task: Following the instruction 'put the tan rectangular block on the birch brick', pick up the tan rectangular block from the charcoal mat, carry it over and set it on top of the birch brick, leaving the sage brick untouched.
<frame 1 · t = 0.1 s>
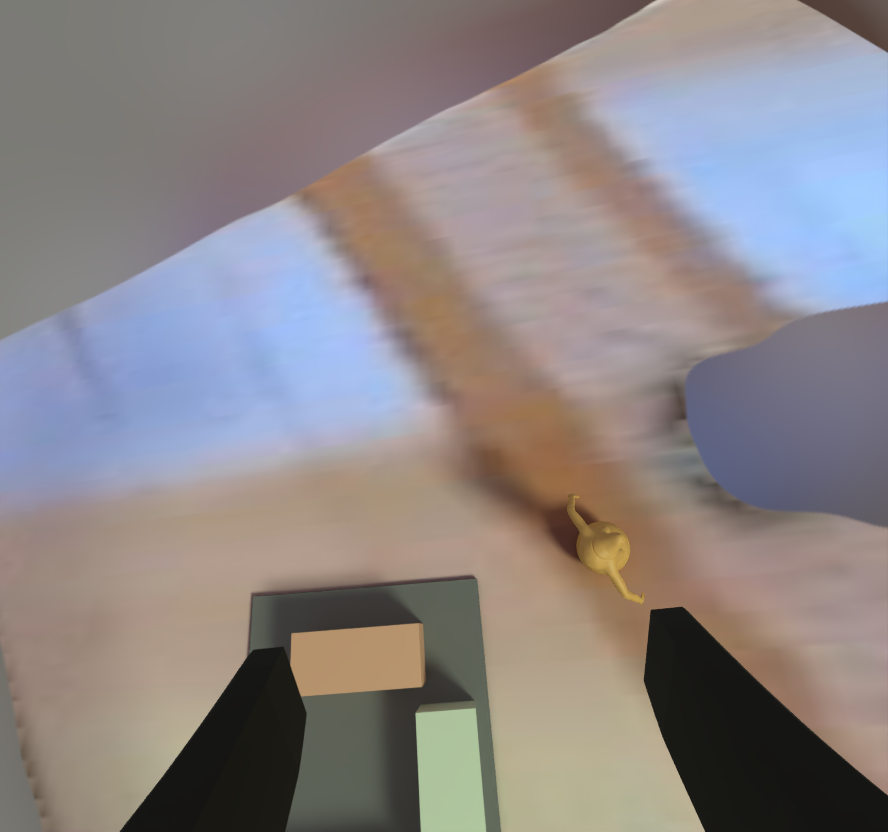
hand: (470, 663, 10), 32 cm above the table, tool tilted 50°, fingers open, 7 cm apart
figurine: (585, 557, 42), on the table
sage brick: (452, 775, 36), resting on mat
tan rectangular block: (365, 656, 39), resting on mat
mat: (368, 780, 36), on the table
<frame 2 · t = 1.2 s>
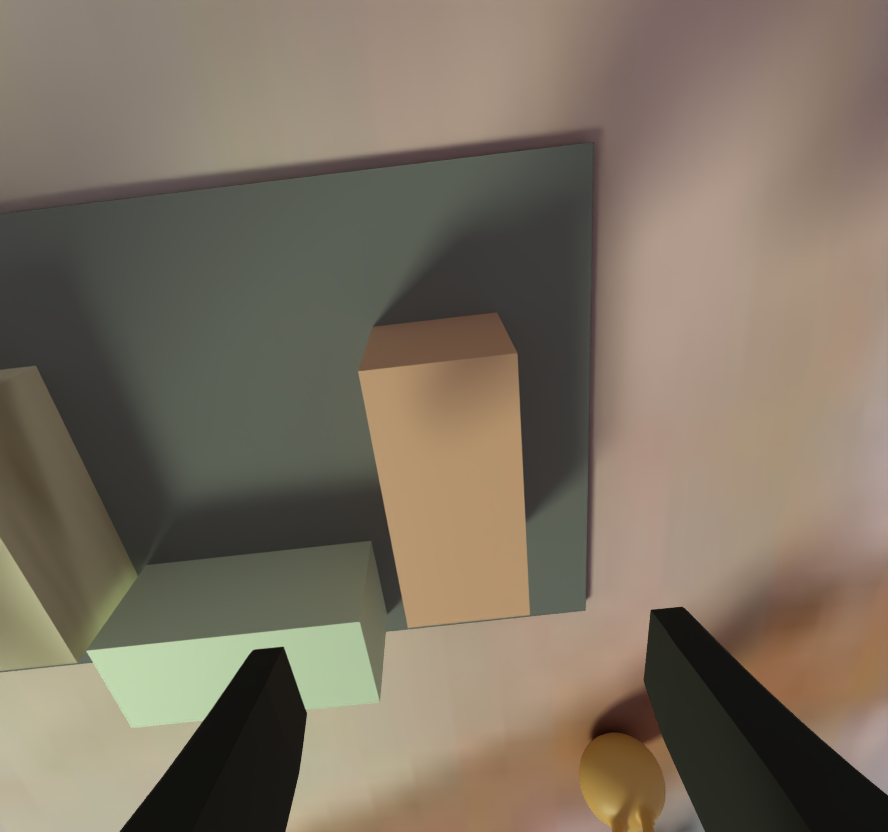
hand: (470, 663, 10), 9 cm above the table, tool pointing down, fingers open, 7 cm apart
figurine: (599, 725, 27), on the table
sage brick: (271, 590, 21), resting on mat
tan rectangular block: (449, 442, 18), resting on mat
mat: (232, 461, 19), on the table
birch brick: (38, 488, 19), resting on mat
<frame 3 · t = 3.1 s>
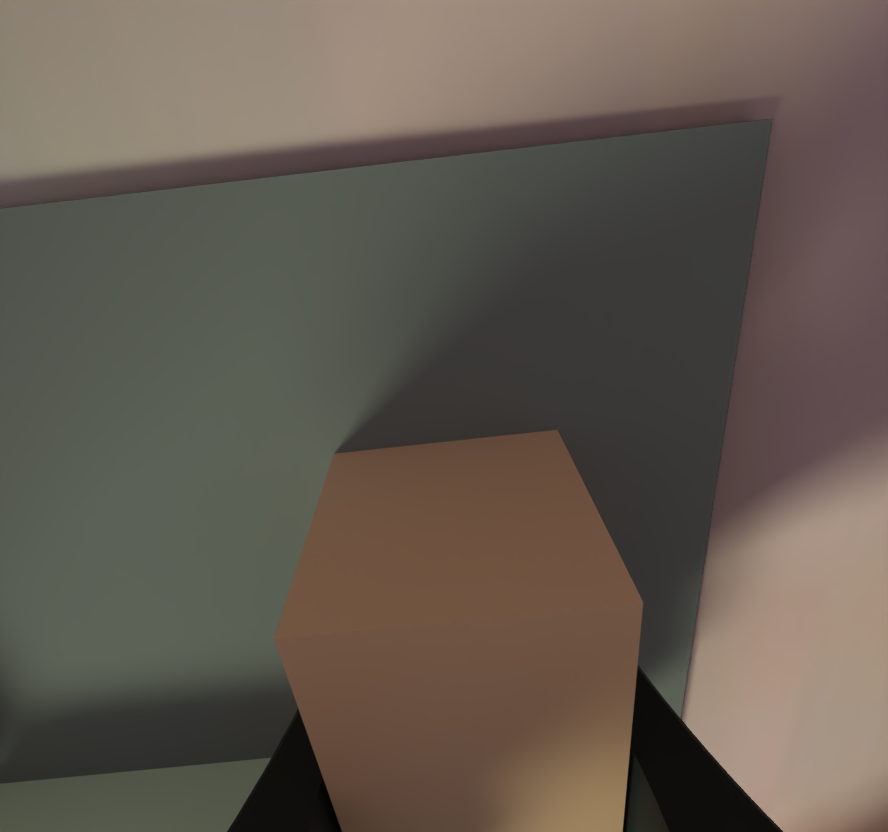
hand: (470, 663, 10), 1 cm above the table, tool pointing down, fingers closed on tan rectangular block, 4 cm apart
sage brick: (190, 811, 14), resting on mat
tan rectangular block: (466, 623, 11), resting on mat, touching gripper
mat: (113, 644, 12), on the table
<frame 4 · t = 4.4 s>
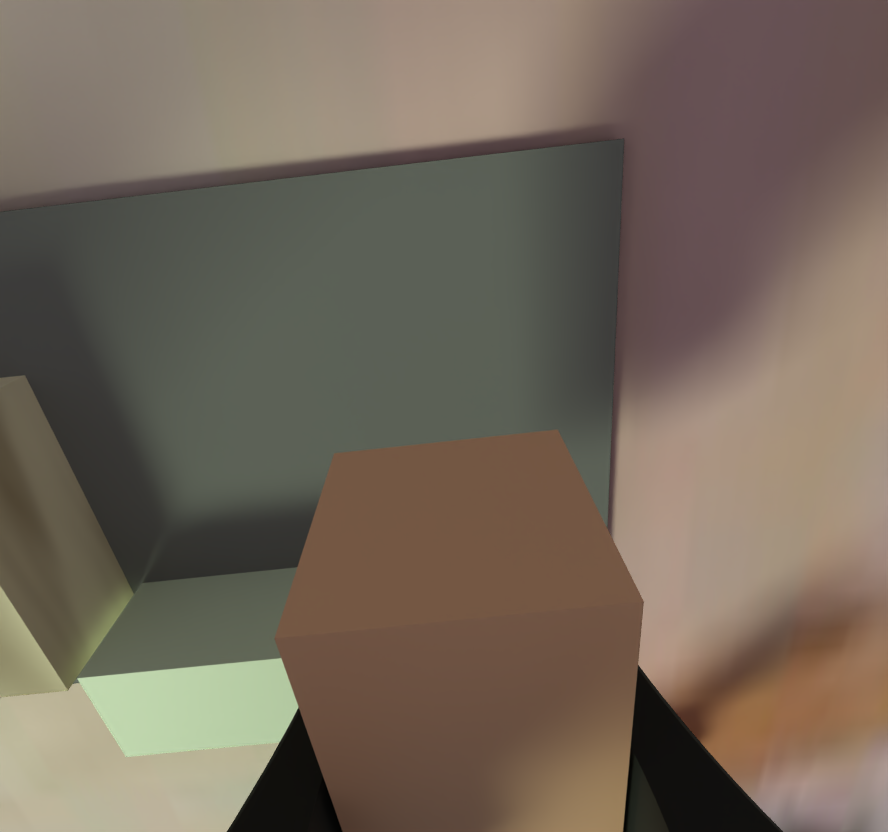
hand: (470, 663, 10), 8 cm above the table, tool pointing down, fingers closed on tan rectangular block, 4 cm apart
sage brick: (273, 609, 20), resting on mat
tan rectangular block: (466, 622, 11), point 7 cm above the table, touching gripper
mat: (233, 475, 18), on the table
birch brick: (28, 503, 18), resting on mat
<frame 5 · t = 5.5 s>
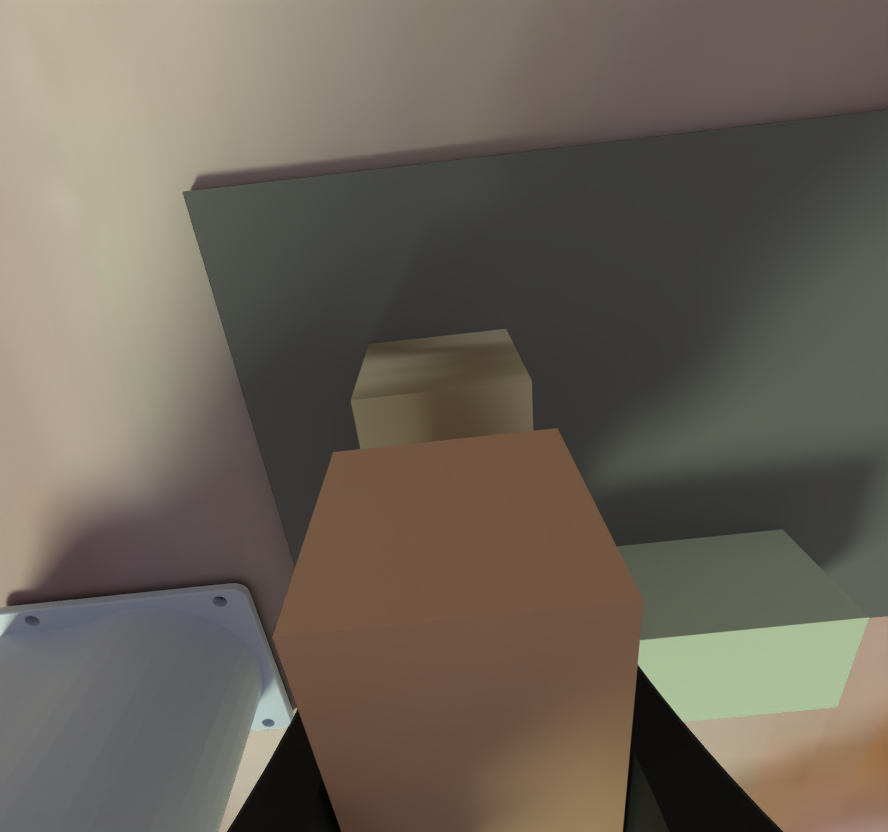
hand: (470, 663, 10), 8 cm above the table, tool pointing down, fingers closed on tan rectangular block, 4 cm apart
sage brick: (652, 583, 19), resting on mat
tan rectangular block: (466, 622, 11), point 7 cm above the table, touching gripper
mat: (661, 439, 17), on the table
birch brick: (452, 468, 17), resting on mat
when the fingers open (6 cm above the table, at t = 6.1 s): tan rectangular block moves 1 cm, resting on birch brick.
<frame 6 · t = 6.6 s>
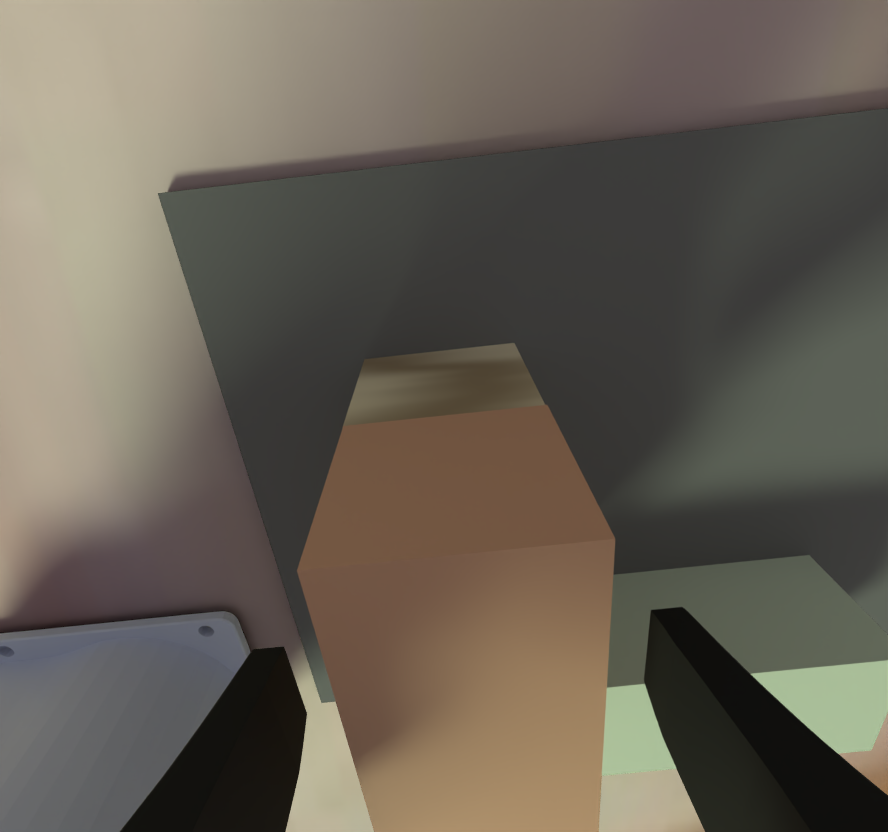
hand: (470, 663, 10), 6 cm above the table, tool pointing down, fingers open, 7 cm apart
sage brick: (668, 611, 18), resting on mat
tan rectangular block: (464, 587, 12), point 4 cm above the table, touching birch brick
mat: (680, 460, 16), on the table
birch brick: (455, 491, 16), resting on mat, touching tan rectangular block
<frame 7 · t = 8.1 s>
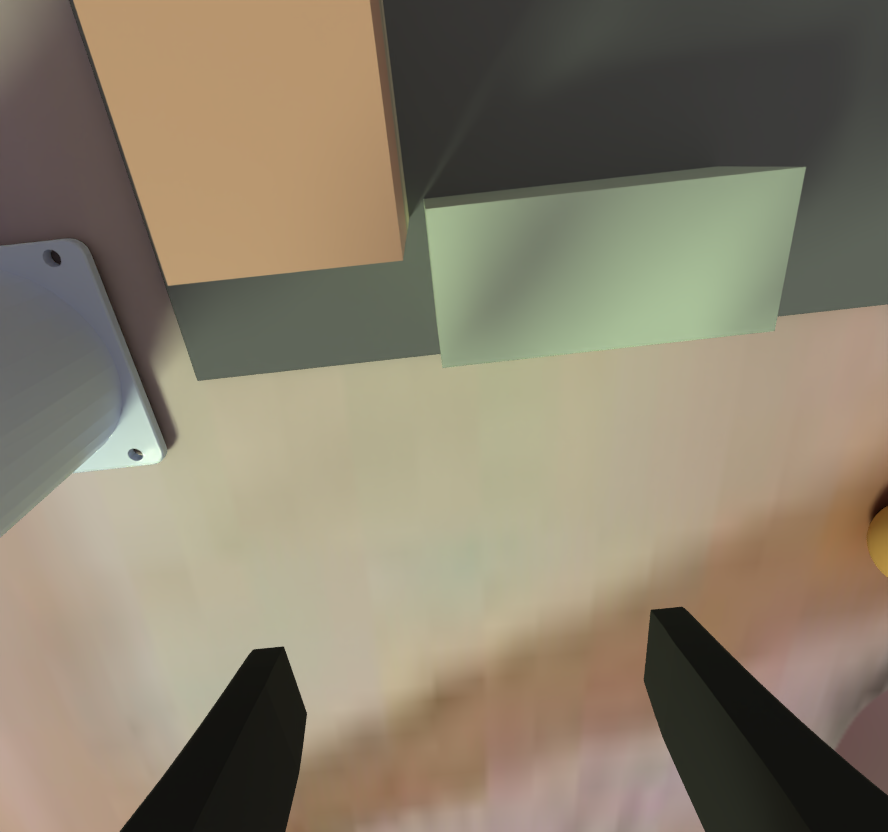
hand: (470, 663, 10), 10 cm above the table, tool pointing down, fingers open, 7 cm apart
figurine: (882, 497, 22), on the table
sage brick: (569, 250, 17), resting on mat
tan rectangular block: (279, 7, 10), point 4 cm above the table, touching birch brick
mat: (567, 24, 14), on the table
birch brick: (314, 49, 14), resting on mat, touching tan rectangular block
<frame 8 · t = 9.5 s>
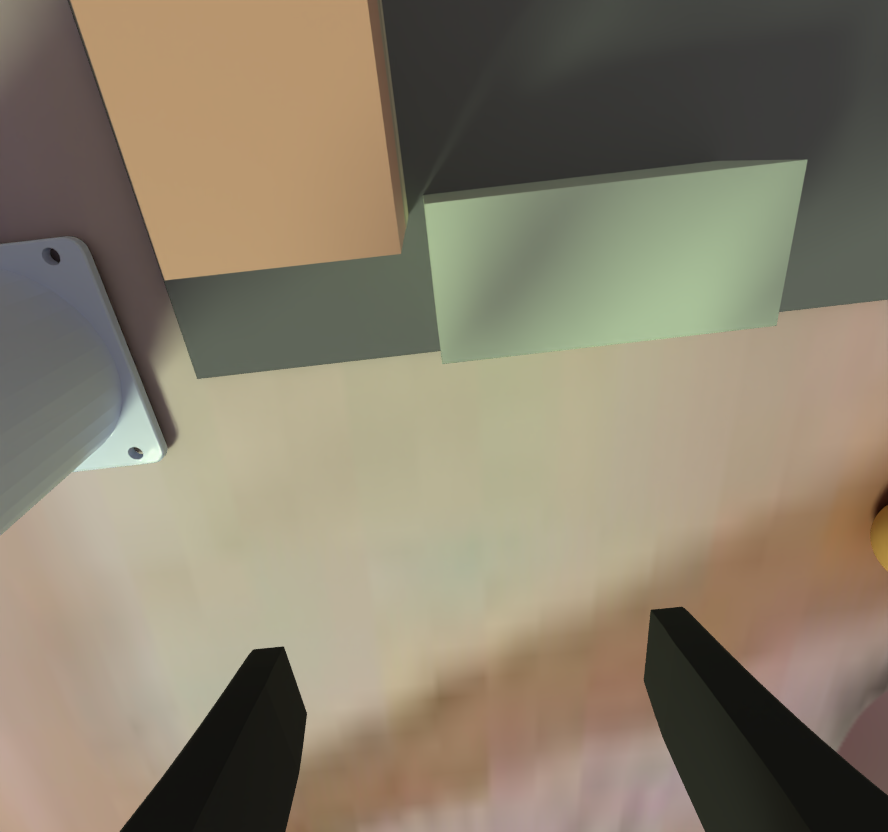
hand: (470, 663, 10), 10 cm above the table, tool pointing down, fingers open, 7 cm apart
figurine: (885, 494, 22), on the table
sage brick: (569, 246, 16), resting on mat
tan rectangular block: (276, 1, 10), point 4 cm above the table, touching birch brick
mat: (566, 18, 14), on the table
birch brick: (312, 45, 14), resting on mat, touching tan rectangular block
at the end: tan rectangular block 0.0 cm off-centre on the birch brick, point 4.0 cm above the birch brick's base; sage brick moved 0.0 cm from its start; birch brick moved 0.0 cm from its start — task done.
